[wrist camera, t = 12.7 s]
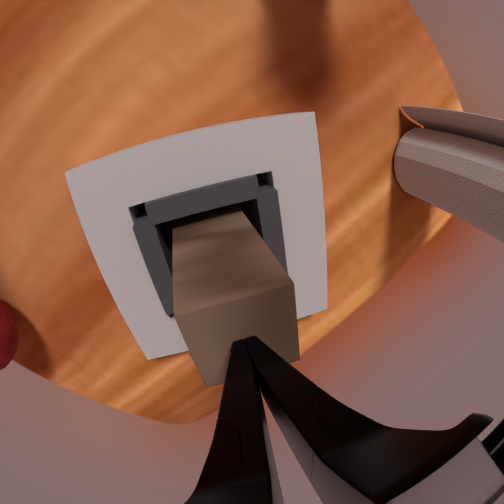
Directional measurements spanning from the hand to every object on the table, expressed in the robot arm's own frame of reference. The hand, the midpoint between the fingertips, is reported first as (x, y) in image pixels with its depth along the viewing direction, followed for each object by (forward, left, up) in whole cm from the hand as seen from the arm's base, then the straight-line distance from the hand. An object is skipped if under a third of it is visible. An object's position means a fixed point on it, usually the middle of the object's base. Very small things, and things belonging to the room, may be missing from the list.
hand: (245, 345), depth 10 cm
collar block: (0, 0, -10) cm, 10 cm away
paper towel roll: (+18, +3, -10) cm, 21 cm away
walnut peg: (0, 0, -10) cm, 10 cm away
